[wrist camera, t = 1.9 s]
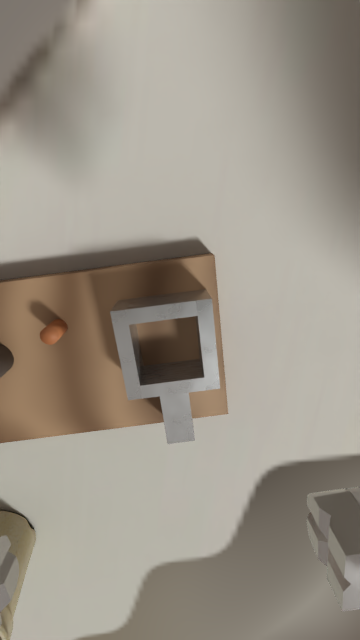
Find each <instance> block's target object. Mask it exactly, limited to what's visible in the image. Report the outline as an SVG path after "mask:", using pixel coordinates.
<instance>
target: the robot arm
mask: <svg viewBox="0 0 360 640" xmlns="http://www.w3.org/2000/svg"><path fill="white" fill-rule="evenodd" d="M307 505H308V507H309V509H310V511H311V512H310V513H309V515H308V516H307V528H308V533H309V537H310V540H311V543H312V546H313V549H314V551H315V553H316V555H317V558H318V559H319V560H320V561H321V562H323V563H324V564H325V565H326V566H327V579H328V582H329V584H330V586H331V588H332V590H333V592H334V594H335V597H336V599H337V601H338V603H339V605H340V607H341V609H342V611H347V610H358V609H360V487H354V488H347V489H344V488H343V489H336V490H330V491H323V492H316V493H310V494H308V496H307ZM10 546H11V543H10V541H9V539H8V537H7V536H0V612H1V611H2V610H3V609H4V608H5V607H6V606H7V605H8V604H9V602H10V601H11V600H12V597H13V595H14V592H15V590H16V587H17V582H18V577H19V563H18V560H17V557H16V556H15V555H13V554H12V553H10V552H9V551H8V550H9V548H10ZM1 624H2V621H1V614H0V626H1Z"/></svg>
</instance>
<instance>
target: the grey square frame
mask: <svg viewBox="0 0 360 640" xmlns="http://www.w3.org/2000/svg"><path fill="white" fill-rule="evenodd" d="M110 314H111V319H112V324H113V329H114V334H115V339H116V344H117V349H118V353H119V358H120V363H121V368H122V373H123V378H124V383H125V388H126V393H127V398H128V400H135V399H143V398H151V397H158V396H160V401H161V407H162V413H163V419H164V425H165V431H166V437H167V443H168V444H171V443H179V442H186V441H194V440H195V438H194V430H193V421H192V413H191V406H190V398H189V393H190V392H197V391H205V390H213V389H220V380H219V369H218V359H217V348H216V337H215V326H214V316H213V305H212V298H211V296H210V295H209V293H208V291H207V290H206V289H202V290H194V291H186V292H178V293H171V294H163V295H155V296H147V297H140V298H132V299H124V300H118V301H117V302H116V304H115V305H114V307H113V308H112V310H111V311H110ZM193 316H195V319H196V328H197V337H198V346H199V354H200V359H194V360H186V361H178V362H170V363H163V364H155V365H147V366H144V365H143V360H142V354H141V348H140V343H139V337H138V331H137V326H136V324H139V323H146V322H154V321H162V320H170V319H177V318H185V317H193Z"/></svg>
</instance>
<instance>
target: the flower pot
mask: <svg viewBox="0 0 360 640" xmlns="http://www.w3.org/2000/svg"><path fill="white" fill-rule="evenodd" d="M0 536H7V537H8V539H9V541H10V543H11V546H10V548H9V550H8V551H9V552H10V553H12V554H13V555H15V556H16V557H17V560H18V563H19V577H18V582H17V587H16V590H15V592H14V595H13V597H12V600H11V601H10V602H9V604H8V605H7V606H6V607H5V608H4V609H3V610H2V611H1V612H0V614H1V621H2V624H1V626H0V640H10V637H11V633H12V630H13V616H14V612H15V609H16V605H17V602H18V598H19V595H20V591H21V588H22V584H23V581H24V577H25V574H26V570H27V567H28V563H29V560H30V557H31V554H32V550H33V547H34V544H35V540H36V534H35V531H34V529H31V527H30V526H29V524H28V522H27V520H26V519H25V518H24V517H22V516H20V515H18V514H15V513H12V512H8V511H0Z"/></svg>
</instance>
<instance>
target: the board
mask: <svg viewBox="0 0 360 640" xmlns="http://www.w3.org/2000/svg"><path fill="white" fill-rule="evenodd" d="M202 289H206V290H207V291H208V293H209V295H210V296H211V298H212V305H213V316H214V326H215V337H216V348H217V359H218V369H219V380H220V389H213V390H205V391H197V392H190V393H189V398H190V406H191V413H192V418H200V417H208V416H216V415H223V414H228V407H227V396H226V384H225V372H224V361H223V349H222V338H221V326H220V315H219V303H218V292H217V280H216V268H215V257H214V255H213V254H212V253H210V254H202V255H194V256H186V257H179V258H171V259H163V260H156V261H148V262H140V263H132V264H125V265H117V266H109V267H102V268H94V269H86V270H78V271H71V272H63V273H55V274H47V275H40V276H32V277H24V278H17V279H9V280H1V281H0V443H5V442H13V441H20V440H28V439H36V438H44V437H52V436H59V435H67V434H75V433H83V432H91V431H98V430H106V429H114V428H122V427H130V426H137V425H145V424H153V423H161V422H164V419H163V413H162V407H161V401H160V396H158V397H151V398H143V399H135V400H128V398H127V393H126V388H125V383H124V378H123V373H122V368H121V363H120V358H119V353H118V349H117V344H116V339H115V334H114V329H113V324H112V319H111V314H110V311H111V310H112V308H113V307H114V305H115V304H116V302H117V301H118V300H124V299H132V298H140V297H147V296H155V295H163V294H171V293H178V292H186V291H194V290H202ZM136 326H137V331H138V337H139V343H140V348H141V354H142V360H143V365H144V366H147V365H155V364H163V363H170V362H178V361H186V360H194V359H200V354H199V346H198V337H197V328H196V319H195V316H193V317H185V318H177V319H170V320H162V321H154V322H146V323H139V324H136Z"/></svg>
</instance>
